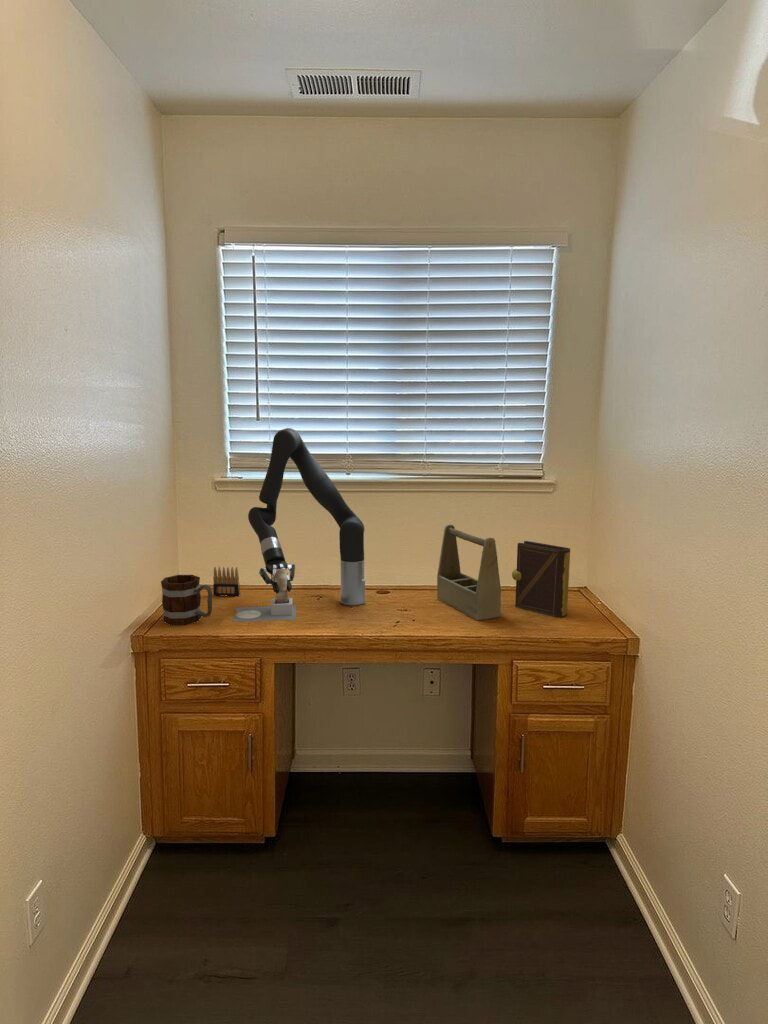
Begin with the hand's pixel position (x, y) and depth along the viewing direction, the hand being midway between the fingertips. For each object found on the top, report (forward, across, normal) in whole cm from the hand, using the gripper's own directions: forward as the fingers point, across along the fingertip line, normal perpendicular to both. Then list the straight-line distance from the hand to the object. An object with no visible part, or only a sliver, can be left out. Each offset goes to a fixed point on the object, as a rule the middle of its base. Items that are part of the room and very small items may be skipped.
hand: (283, 591), depth 239 cm
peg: (+3, 0, +6) cm, 7 cm away
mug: (-2, -32, +16) cm, 35 cm away
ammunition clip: (-18, -12, +33) cm, 39 cm away
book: (+33, +88, -17) cm, 96 cm away
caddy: (+22, +66, -7) cm, 70 cm away
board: (+5, -6, +9) cm, 12 cm away
